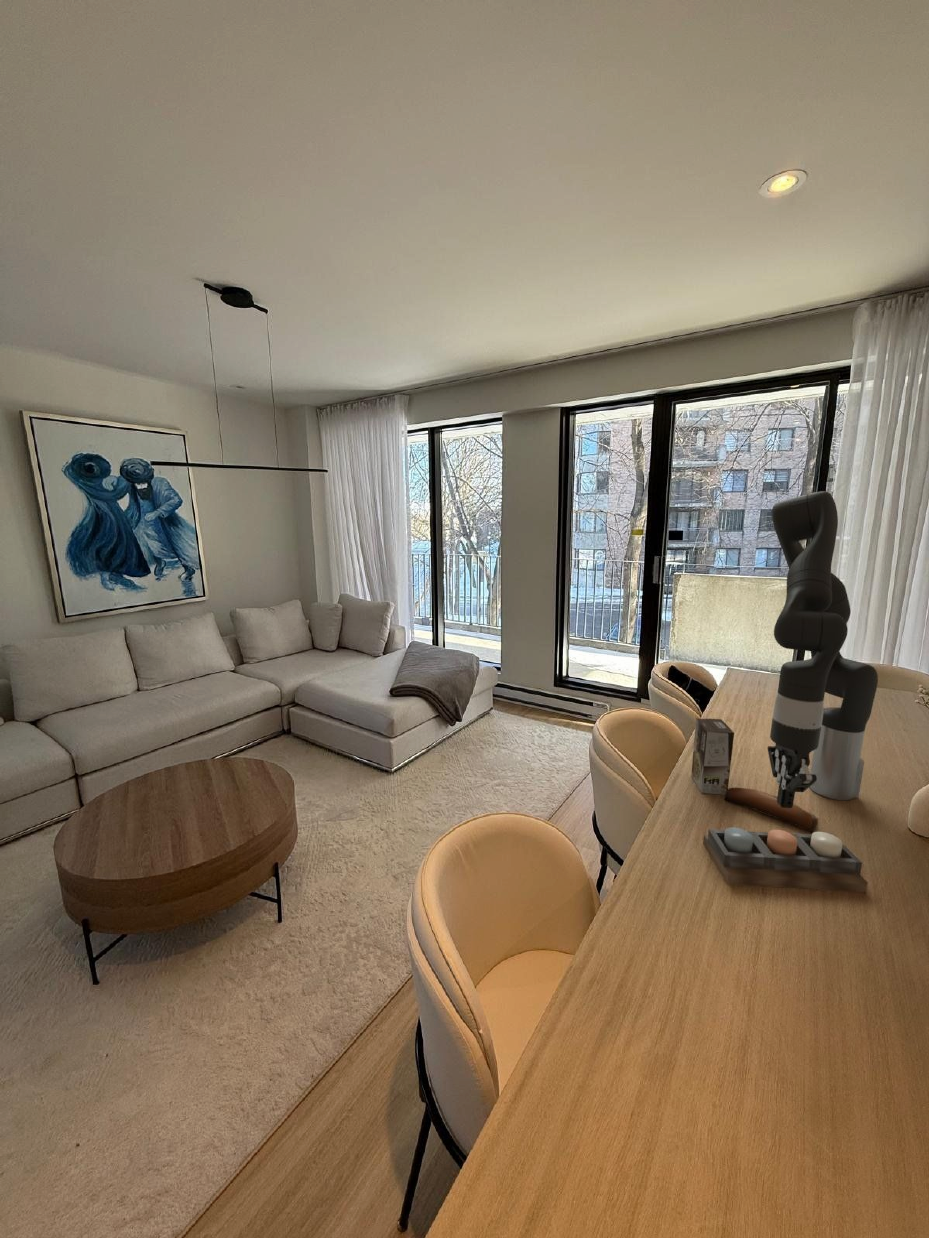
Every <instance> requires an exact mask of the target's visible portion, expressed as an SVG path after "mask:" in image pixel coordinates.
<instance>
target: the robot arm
mask: <svg viewBox="0 0 929 1238" xmlns="http://www.w3.org/2000/svg"><path fill="white" fill-rule="evenodd" d="M838 514H839V513H838V509H837V504H836V502H835V499H834V497H833V495H832V494H831V493H830V492H828V491H825V490H821V491H815V492H810V493H808V494H807V493H806V494H803V495H799V496H794V497H791V498H788V499H784V500H780V501H777V502H775V503H774V504H773V506H772V507H771V519H772V524H773V528H774V530H775V533H776V537H777V539H778V542H779V545H780V548H781V551H782V553H783V556H784V558H785V562H786V563H787V567H788V571H787V575H786V591H785V592H786V595H785V601H784V605H783V607H782V610H781V611H780V614H779V615H778V617H777V620H776V622H775V625H774V629H773V636H774V639H775V641H776V643H777V644H778V645H779V646H780V647H782V648H784V649H788V650H795V651H804V652H810V655H811V658H808V659H805V660H804V659H803V660H791V661H787V662H784V663H783V664H782V665H781V668H780V672H779V679H778V681H779V682H778V688H777V695H776V698H775V700H774V704H773V711H772V713H773V714H772V719H771V727H770V733H769V738H770V739H771V741H772V742H774V744H775V745H769V746H767V754H768V759H769V763H770V768H771V773H772V776H773V778H776V784H777V786H778V791H777V795H776V796H777V803H778V804H779V805H780V806H781V807H782V808H792V807H793V803H794V801H795V800H794V799H795V794H796V793H804V792H806V791H807V790H808V789H809V788H810V790H811V791H812V792H814V793H816V794H818V795H820V796H822V797H825V798H829V799H831V800H837V801H850V800H851V801H852V799H854V798H856V799H857V798H858V799H859V797H860V792H861V785H862V778H863V774H864V766H865V761H864V759H862V758H861V757H862V750H863V745H864V739H865V731H866V727H867V723H868V721H869V719H870V718H871V714H872V711H873V705H874V702H875V697H876V694H877V688H878V683H879V679H878V678H879V676H878V672H877V670H876V668H875V667H874V666H872V665H870V664H868V663H863V662H860V661H857V660H853V659H849V658H845V657H843V655H842V654H841V652H840V651H841V649H842V648H843V646H844V643H845V642H846V639H847V636H848V630H849V629H848V623H849V619H850V617H851V611H852V610H851V605H850V604H851V603H850V602H849V597H848V593H847V589H846V586H845V584H844V583H843V581H842V580H841V579H840V578H839V577H838V576H836V575H835V574H834V573H832V565H833V564H832V563H833V557H834V553H835V552H834V551H835V547H836V539H837V534H838V528H839V527H838V525H839V516H838ZM809 539H811V540H810V542H809V543H808V544H807V545H806V546H805V547H803V546H802V544H801V542H800V541H804V540H809ZM825 693H826V694H828V695H832V696H835V697H837V698H840V699H842V701H841V705H840V707H833V706H832V707H830V706H829V707H825V706H824V703H825V702H824V701H825V695H826V694H825ZM824 707H825V708H824ZM811 752H812V758H811V760H810V753H811ZM810 764H811V766H810ZM809 766H810V769H809Z"/></svg>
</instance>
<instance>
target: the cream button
mask: <svg viewBox="0 0 929 1238" xmlns="http://www.w3.org/2000/svg"><path fill="white" fill-rule="evenodd" d="M811 833H812V832H811ZM811 835H812V836H811V843H810V848H811V849H812V850H813V851H814V853H815V854H816V855H817V856H818V857H831V858H840V857H841V851H842V845H843V844H844V843H843V842H842V840H841V839H840V838H838V836H836V835H833V834H830V833H829V832H824V831H813V833H812V834H811ZM835 836H836V837H835Z"/></svg>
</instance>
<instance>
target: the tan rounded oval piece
mask: <svg viewBox="0 0 929 1238" xmlns="http://www.w3.org/2000/svg"><path fill="white" fill-rule="evenodd" d="M792 834H793V833H791V834H790V832H788V831H784V830H781V829H770V830H769V831H768V838H767V847H768V849H769V850H770V851H771V852H772V854H775V855H794V856H796V849H797V842H798V841H797V839H796V837H794V836H793V835H792Z"/></svg>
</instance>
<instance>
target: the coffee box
mask: <svg viewBox="0 0 929 1238" xmlns="http://www.w3.org/2000/svg"><path fill="white" fill-rule="evenodd" d="M694 726H695V727H694V737H693V752H692V764H691V773H690V775H691V777H692V780H693V781H694V783H695V784H696V786H697V788H698V789H699V791H700V792H701V793H702V794H710V795H711V794H714V795H722V796H723V795H724V796H725V794H726V792H727V790H728V789H729V783H730V774H731V766H732V755H733V750H734V749H733V747H734V738H735V732H734V731H733V730H732V729H731V728H730V727H729V725H728V724H727V723H725V721H723V720H722V719H721V718H698V717H697V718H695V725H694Z"/></svg>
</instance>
